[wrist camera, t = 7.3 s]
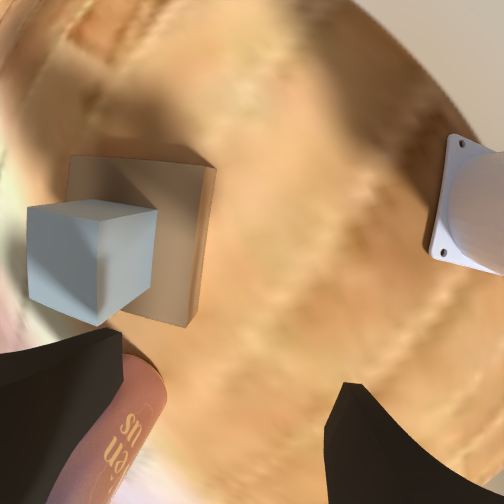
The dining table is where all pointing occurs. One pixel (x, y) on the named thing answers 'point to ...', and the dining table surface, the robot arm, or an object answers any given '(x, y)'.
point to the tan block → (157, 224)
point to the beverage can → (113, 438)
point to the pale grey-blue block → (89, 256)
